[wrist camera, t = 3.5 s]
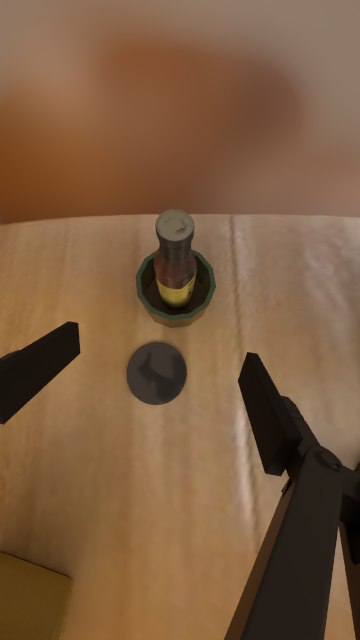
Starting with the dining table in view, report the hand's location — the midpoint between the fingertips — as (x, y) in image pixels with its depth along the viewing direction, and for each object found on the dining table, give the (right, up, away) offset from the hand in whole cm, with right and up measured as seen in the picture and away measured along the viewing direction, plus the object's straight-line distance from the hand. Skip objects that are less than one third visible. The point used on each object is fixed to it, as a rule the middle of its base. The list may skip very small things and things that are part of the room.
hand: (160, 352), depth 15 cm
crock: (+1, +8, +24) cm, 25 cm away
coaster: (-3, -7, +20) cm, 22 cm away
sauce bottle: (+1, +7, +24) cm, 25 cm away
